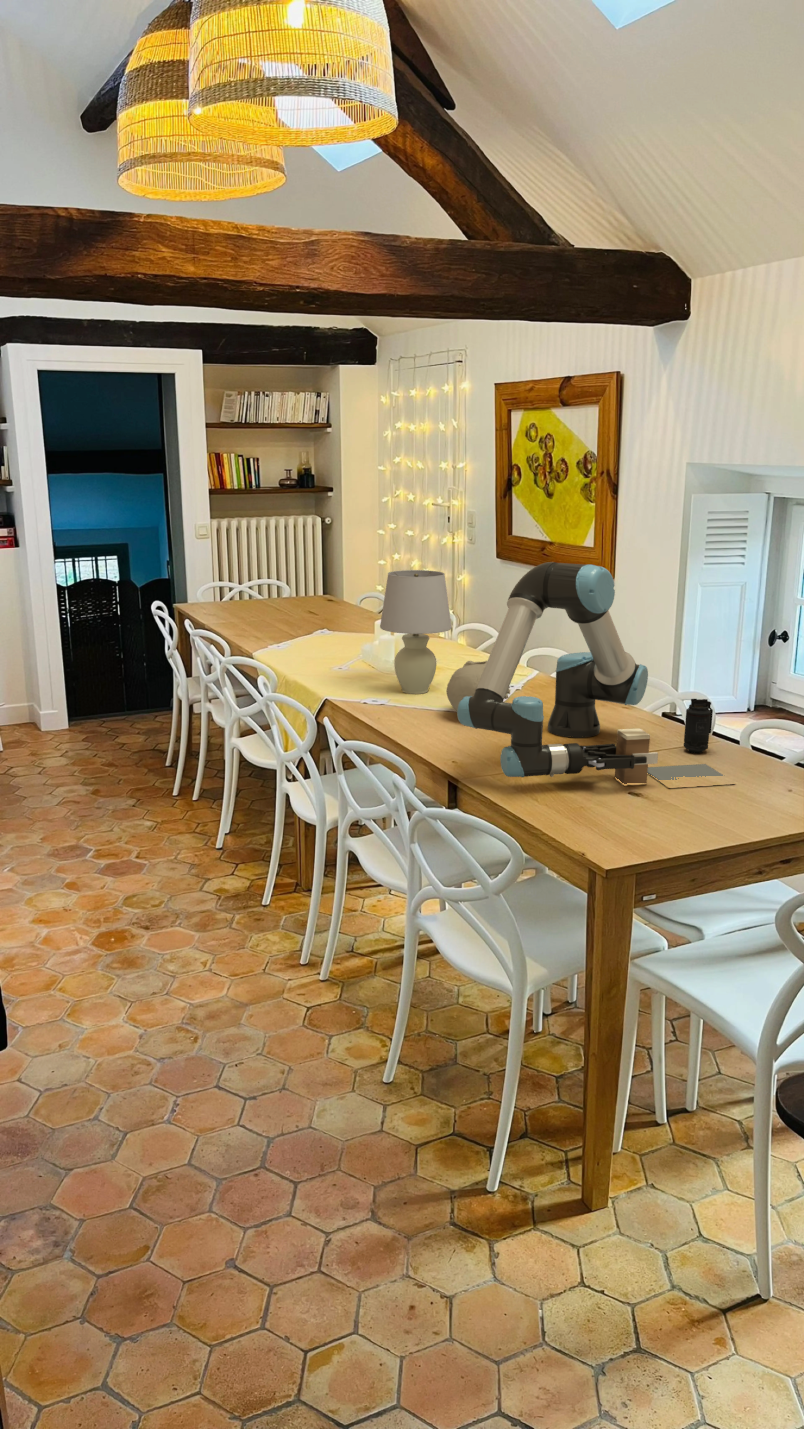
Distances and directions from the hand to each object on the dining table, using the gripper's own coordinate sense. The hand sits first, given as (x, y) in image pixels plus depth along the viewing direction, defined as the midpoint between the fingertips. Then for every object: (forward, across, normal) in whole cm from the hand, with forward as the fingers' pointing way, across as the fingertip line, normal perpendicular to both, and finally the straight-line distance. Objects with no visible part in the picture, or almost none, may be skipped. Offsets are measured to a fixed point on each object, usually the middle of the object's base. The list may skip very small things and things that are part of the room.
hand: (651, 754), depth 266 cm
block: (-5, 0, -7) cm, 9 cm away
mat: (+11, -1, -7) cm, 13 cm away
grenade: (+24, -22, -7) cm, 33 cm away
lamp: (-37, -106, -7) cm, 113 cm away
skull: (-25, -70, -7) cm, 75 cm away
